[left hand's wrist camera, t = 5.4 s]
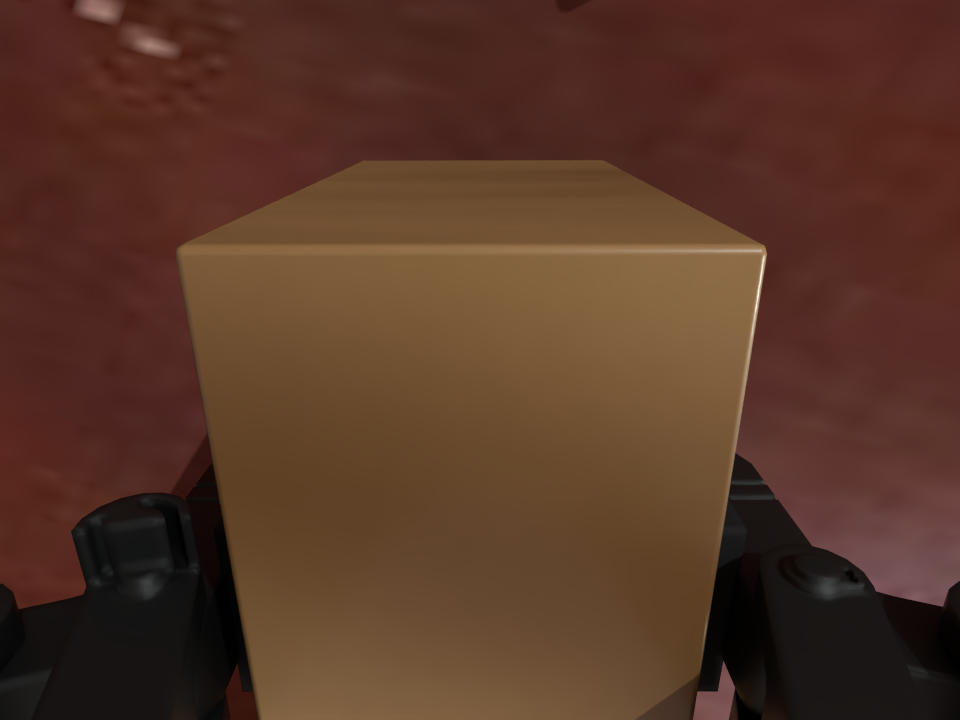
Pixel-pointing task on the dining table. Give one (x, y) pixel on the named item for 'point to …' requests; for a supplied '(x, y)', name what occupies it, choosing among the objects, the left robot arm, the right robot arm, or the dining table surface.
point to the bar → (473, 437)
